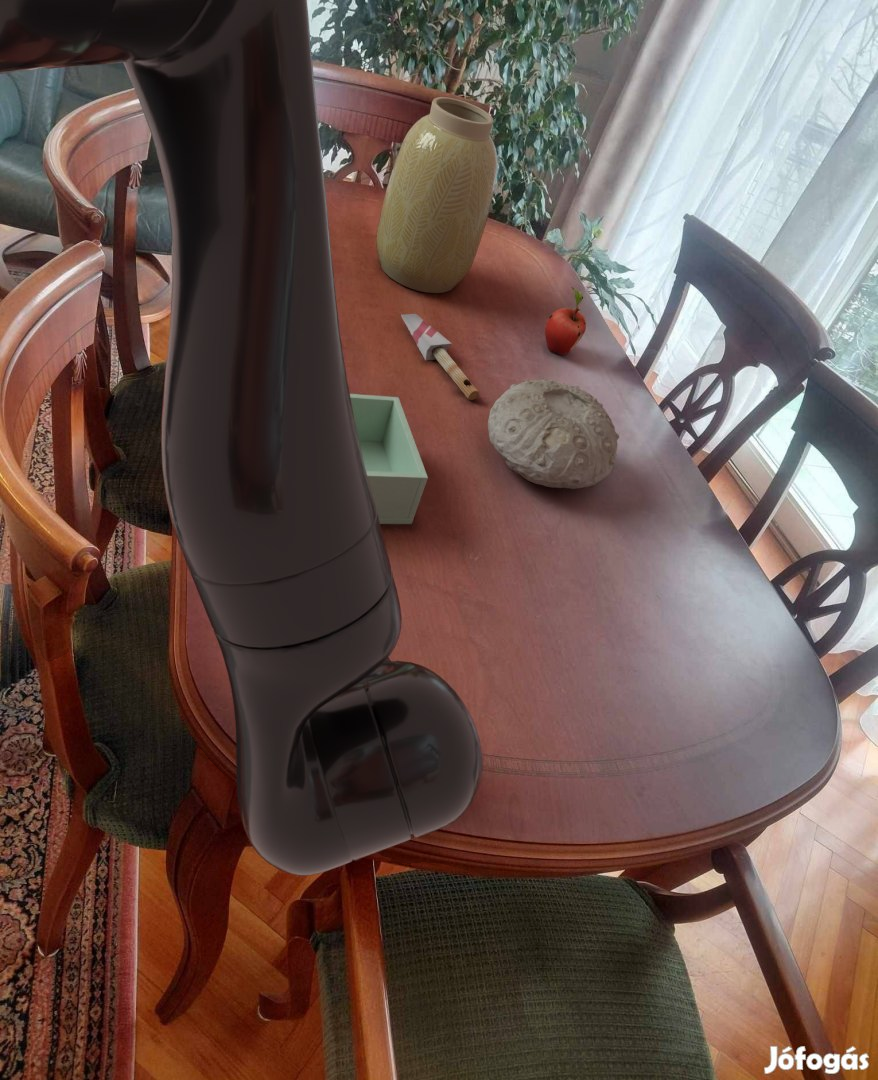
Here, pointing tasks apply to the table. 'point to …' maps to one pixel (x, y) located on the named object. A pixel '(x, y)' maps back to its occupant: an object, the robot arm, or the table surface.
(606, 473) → the decorative shell
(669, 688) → the table surface
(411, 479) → the bin
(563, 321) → the apple
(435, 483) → the table surface
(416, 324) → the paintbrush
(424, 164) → the vase
